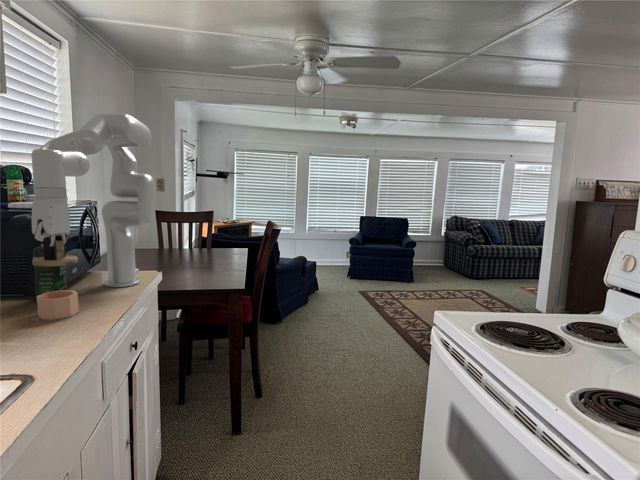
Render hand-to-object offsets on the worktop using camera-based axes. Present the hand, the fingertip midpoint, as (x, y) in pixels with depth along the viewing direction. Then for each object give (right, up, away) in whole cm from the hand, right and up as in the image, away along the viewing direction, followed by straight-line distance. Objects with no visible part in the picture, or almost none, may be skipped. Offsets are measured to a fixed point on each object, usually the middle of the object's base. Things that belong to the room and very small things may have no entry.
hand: (55, 258), depth 114 cm
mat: (-1, -17, +3) cm, 17 cm away
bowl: (-1, -17, +2) cm, 17 cm away
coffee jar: (-12, -15, +17) cm, 26 cm away
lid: (0, -1, 0) cm, 1 cm away
